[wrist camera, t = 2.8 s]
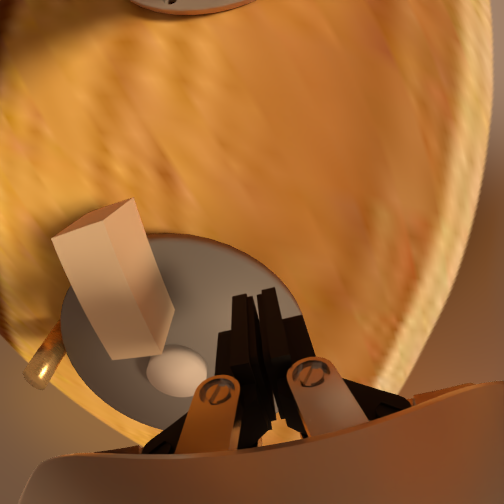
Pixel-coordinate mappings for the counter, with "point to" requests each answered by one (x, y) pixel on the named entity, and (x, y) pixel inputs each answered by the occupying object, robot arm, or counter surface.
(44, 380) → the brown rounded oblong piece
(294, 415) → the robot arm
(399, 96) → the counter surface
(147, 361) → the disc
